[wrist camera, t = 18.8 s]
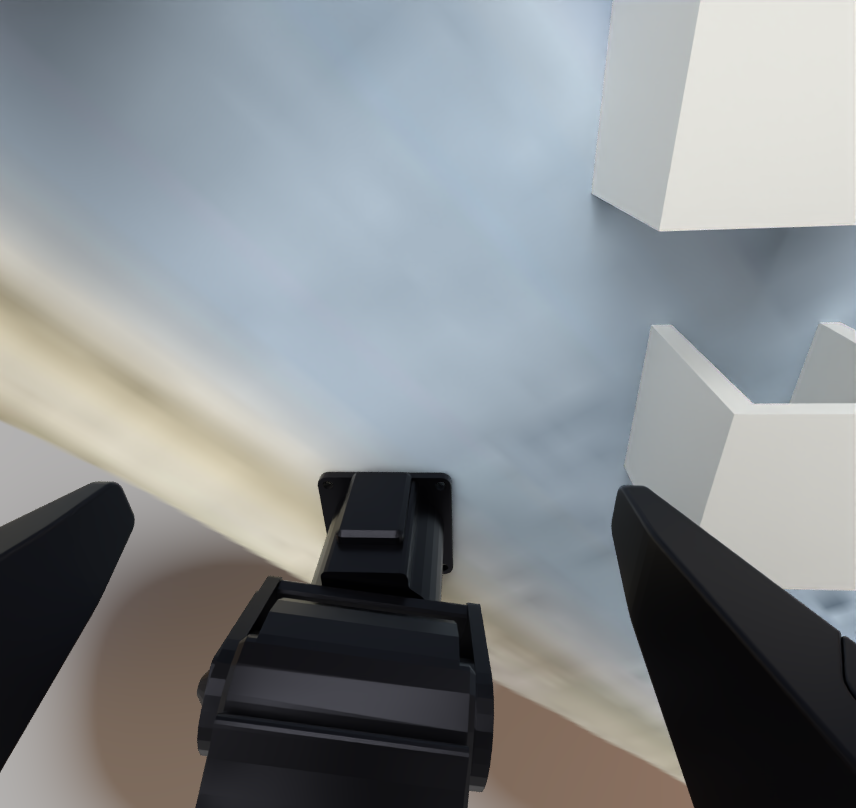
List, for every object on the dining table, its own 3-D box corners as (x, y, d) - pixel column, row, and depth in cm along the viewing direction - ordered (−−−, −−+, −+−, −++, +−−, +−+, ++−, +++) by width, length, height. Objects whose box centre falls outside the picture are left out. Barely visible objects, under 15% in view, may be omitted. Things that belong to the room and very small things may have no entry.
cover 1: (803, 185, 17) (991, 220, 11) (591, 193, 18) (658, 231, 12) (888, -91, 14) (1227, -259, 8) (620, -71, 14) (738, -213, 8)
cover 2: (783, 466, 23) (900, 591, 17) (623, 465, 23) (680, 586, 17) (840, 322, 19) (1013, 413, 13) (651, 324, 20) (734, 414, 14)
